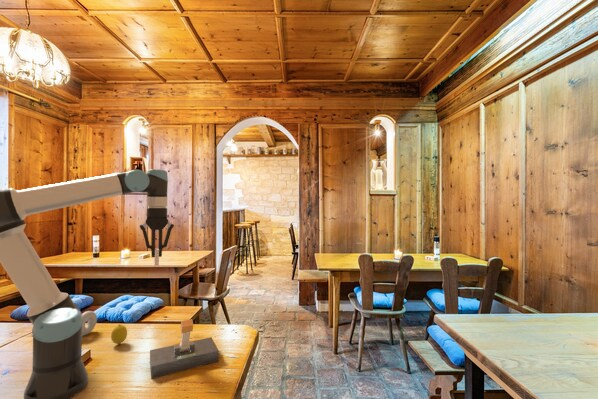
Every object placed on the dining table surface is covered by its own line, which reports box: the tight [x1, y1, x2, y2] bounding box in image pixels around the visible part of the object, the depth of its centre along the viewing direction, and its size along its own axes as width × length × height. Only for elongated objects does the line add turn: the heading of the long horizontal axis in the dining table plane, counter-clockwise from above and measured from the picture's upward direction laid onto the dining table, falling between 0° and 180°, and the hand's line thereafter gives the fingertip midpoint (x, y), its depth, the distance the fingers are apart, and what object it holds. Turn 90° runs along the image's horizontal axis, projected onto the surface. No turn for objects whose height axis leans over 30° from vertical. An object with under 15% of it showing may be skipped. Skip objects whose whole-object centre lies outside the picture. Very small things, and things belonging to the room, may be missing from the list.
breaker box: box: [149, 336, 220, 379], centre depth 106 cm, size 22×12×6 cm, turn 119°
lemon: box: [110, 324, 128, 345], centre depth 119 cm, size 6×6×8 cm
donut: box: [81, 310, 98, 337], centre depth 127 cm, size 10×4×10 cm, turn 175°
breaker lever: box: [180, 318, 194, 351], centre depth 104 cm, size 4×3×14 cm
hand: (156, 264), depth 119 cm, fingers closed
